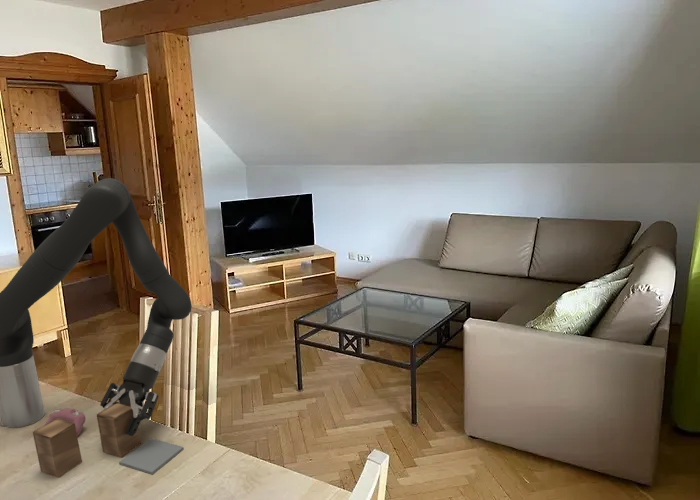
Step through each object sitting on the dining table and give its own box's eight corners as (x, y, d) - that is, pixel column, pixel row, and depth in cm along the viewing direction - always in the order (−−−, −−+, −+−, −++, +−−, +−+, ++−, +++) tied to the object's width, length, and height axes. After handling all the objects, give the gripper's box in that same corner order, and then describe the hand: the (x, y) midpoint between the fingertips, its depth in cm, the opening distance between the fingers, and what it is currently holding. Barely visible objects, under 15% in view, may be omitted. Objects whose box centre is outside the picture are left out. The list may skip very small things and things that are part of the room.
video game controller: (85, 438, 139) (90, 410, 140) (72, 440, 135) (77, 411, 136) (53, 434, 142) (58, 406, 143) (39, 436, 137) (44, 407, 139)
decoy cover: (40, 471, 124) (32, 431, 122) (64, 456, 129) (56, 418, 127) (59, 477, 122) (50, 437, 119) (82, 461, 127) (74, 423, 124)
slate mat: (119, 464, 125) (118, 461, 125) (151, 440, 134) (151, 438, 134) (152, 474, 121) (152, 472, 121) (183, 449, 130) (183, 447, 130)
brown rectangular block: (103, 452, 130) (96, 414, 128) (122, 438, 135) (116, 401, 133) (121, 457, 128) (115, 419, 125) (141, 443, 133) (135, 406, 130)
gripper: (114, 356, 136) (82, 421, 129) (157, 365, 130) (127, 433, 123) (133, 366, 142) (104, 429, 135) (176, 375, 136) (148, 441, 129)
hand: (115, 431), depth 129 cm, fingers open, 8 cm apart
